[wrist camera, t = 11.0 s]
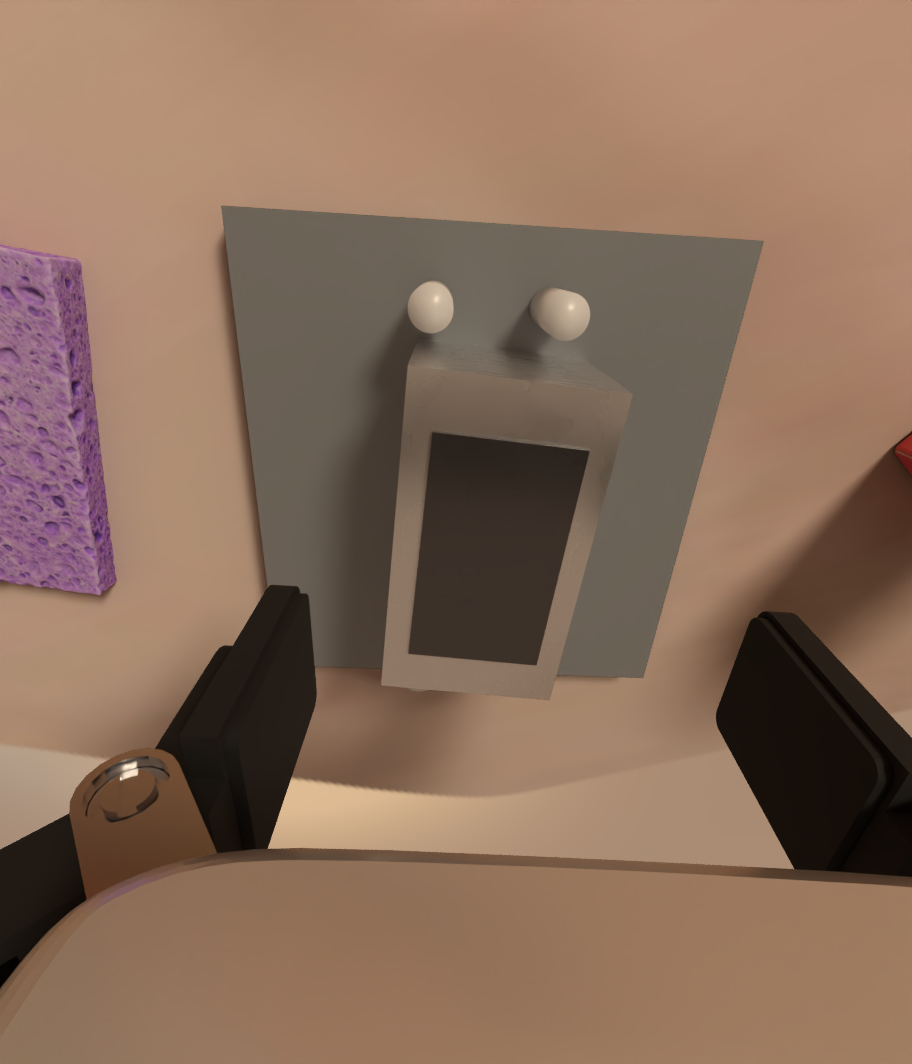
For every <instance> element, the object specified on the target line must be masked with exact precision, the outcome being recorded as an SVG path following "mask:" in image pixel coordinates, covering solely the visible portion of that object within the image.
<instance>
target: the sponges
mask: <svg viewBox="0 0 912 1064" xmlns="http://www.w3.org/2000/svg"><path fill="white" fill-rule="evenodd" d="M91 373H92V362H91V351H90V343H89V335H88V322H87V312H86V302H85V293H84V286H83V280H82V268H81V262H80V261H79V260H78V259H75V258H69V257H63V256H58V255H53V254H48V253H42V252H37V251H31V250H27V249H23V248H14V247H9V246H3V245H0V581H7V582H9V583H17V584H20V585H28V584H30V585H33V586H35V587H49V588H58V589H60V590H63V591H71V592H77V593H90V594H95V595H101V593H102V591H106V590H107V589H108V587H110V586H112V585H113V584H114V583H115V582H116V580H117V579H116V575H115V567H114V565H113V550H112V543H111V540H110V525H109V522H108V520H107V512H108V507H107V501H106V493H105V485H104V480H103V478H104V477H103V467H102V457H101V449H100V442H99V432H98V421H97V412H96V406H95V405H96V402H95V394H94V392H93V387H92V386H93V384H92V381H91Z"/></svg>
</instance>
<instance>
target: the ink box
mask: <svg viewBox="0 0 912 1064" xmlns="http://www.w3.org/2000/svg"><path fill="white" fill-rule="evenodd" d="M895 454H896V456H897V457H898V458H899V460H900V461H901V463H902V464H903V465H904V466H905V467H906V469H907V470H908V471H909V473H910V474H911V475H912V434H911V435H910V436H908V437H907V438H906V439H905V440H904V441H902V442H901V443H900V444H899V445H898V446H897V447H896V449H895Z"/></svg>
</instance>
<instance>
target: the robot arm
mask: <svg viewBox="0 0 912 1064" xmlns="http://www.w3.org/2000/svg"><path fill="white" fill-rule="evenodd" d="M316 694H317V691H316V677H315V665H314V653H313V641H312V628H311V616H310V604H309V596H308V594H306V593H300V589H299V587H298V586H286V585H270V586H269V587H268V588H267V590H266V591H265V593H264V595H263V596H262V598H261V600H260V601H259V603H258V605H257V606H256V608H255V610H254V611H253V613H252V615H251V616H250V618H249V620H248V621H247V623H246V625H245V626H244V628H243V630H242V631H241V633H240V635H239V636H238V638H237V640H236V641H235V643H234V645H233V646H222V647H220V648H219V649H218V651H217V652H216V653H215V655H214V656H213V658H212V659H211V661H210V662H209V664H208V666H207V667H206V669H205V670H204V672H203V674H202V675H201V677H200V678H199V680H198V681H197V683H196V685H195V686H194V688H193V689H192V691H191V693H190V694H189V696H188V697H187V699H186V700H185V702H184V704H183V705H182V707H181V708H180V710H179V712H178V713H177V715H176V716H175V718H174V719H173V721H172V723H171V724H170V726H169V727H168V729H167V730H166V732H165V734H164V735H163V737H162V738H161V740H160V742H159V743H158V745H157V746H156V748H155V749H151V748H146V749H138V750H132V751H129V752H126V753H123V754H120V755H117V756H115V757H113V758H111V759H109V760H108V761H106V762H104V763H102V764H101V765H99V766H98V767H97V768H95V769H94V770H93V771H92V772H90V773H89V774H88V775H87V776H86V777H85V778H84V779H83V781H82V782H81V783H80V784H79V785H78V787H77V788H76V790H75V792H74V794H73V796H72V798H71V801H70V812H69V814H67V815H65V816H64V817H62V818H60V819H58V820H56V821H54V822H53V823H50V824H48V825H46V826H45V827H43V828H41V829H39V830H37V831H35V832H33V833H31V834H29V835H27V836H26V837H23V838H21V839H20V840H18V841H16V842H14V843H12V844H10V845H8V846H6V847H4V848H2V849H0V1064H912V738H911V737H910V736H909V735H908V734H907V732H905V730H904V729H903V728H902V727H901V726H900V725H899V724H898V723H897V722H896V721H895V720H894V719H893V717H892V716H891V715H890V714H889V713H888V712H887V711H886V710H885V709H884V708H883V707H882V706H881V705H880V704H879V703H878V701H877V700H876V699H875V698H874V697H873V696H872V695H871V694H870V693H869V692H868V691H867V690H866V689H865V688H864V687H863V685H862V684H861V683H860V682H859V681H858V680H857V679H856V678H855V677H854V676H853V675H852V674H851V673H850V672H849V671H848V669H847V668H846V667H845V666H844V665H843V664H842V663H841V662H840V661H839V660H838V659H837V658H836V657H835V656H834V654H833V653H832V652H831V651H830V650H829V649H828V648H827V647H826V646H825V645H824V644H823V643H822V642H821V641H820V640H819V638H818V637H817V636H816V635H815V634H814V633H813V632H812V631H811V630H810V629H809V628H808V627H807V626H806V625H805V624H804V622H803V621H802V620H801V619H800V618H799V617H798V616H797V615H795V614H793V613H786V612H767V611H765V612H762V613H761V614H759V615H758V617H757V618H753V619H752V620H751V621H750V623H749V625H748V628H747V631H746V634H745V636H744V639H743V642H742V644H741V647H740V650H739V652H738V655H737V658H736V660H735V663H734V666H733V668H732V671H731V674H730V677H729V679H728V682H727V685H726V687H725V690H724V693H723V695H722V698H721V701H720V703H719V706H718V709H717V712H716V722H717V726H718V729H719V731H720V733H721V735H722V736H723V738H724V740H725V742H726V744H727V746H728V747H729V749H730V751H731V753H732V755H733V757H734V758H735V760H736V762H737V764H738V766H739V767H740V769H741V771H742V773H743V775H744V777H745V779H746V780H747V782H748V784H749V786H750V788H751V790H752V792H753V793H754V795H755V797H756V799H757V801H758V803H759V805H760V806H761V808H762V810H763V812H764V814H765V816H766V817H767V819H768V821H769V823H770V825H771V827H772V828H773V830H774V832H775V834H776V836H777V838H778V840H779V841H780V843H781V845H782V847H783V849H784V851H785V852H786V854H787V856H788V858H789V860H790V862H791V863H792V865H793V867H794V869H779V868H759V867H741V866H740V867H739V866H722V865H704V864H683V863H663V862H642V861H622V860H601V859H600V860H599V859H578V858H558V857H536V856H513V855H512V856H511V855H489V854H464V853H441V852H440V853H439V852H418V851H394V850H354V849H353V850H352V849H351V850H350V849H311V848H290V849H268V845H269V843H270V840H271V836H272V834H273V831H274V828H275V825H276V822H277V819H278V816H279V812H280V810H281V807H282V804H283V801H284V797H285V795H286V792H287V789H288V786H289V783H290V780H291V777H292V774H293V771H294V768H295V765H296V762H297V759H298V756H299V753H300V750H301V747H302V744H303V741H304V738H305V735H306V732H307V729H308V726H309V723H310V720H311V717H312V714H313V711H314V707H315V703H316Z"/></svg>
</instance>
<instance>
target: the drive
mask: <svg viewBox="0 0 912 1064" xmlns="http://www.w3.org/2000/svg"><path fill="white" fill-rule="evenodd" d="M632 396H633V394H632V393H631V392H630V391H628V390H627V389H625V388H624V387H623V386H621V385H620V384H619V383H617V382H616V381H614V380H613V379H612V378H610V377H609V376H607V375H606V374H605V373H603V372H602V371H601V370H599V369H598V368H596V367H595V366H594V365H592V364H591V363H590V362H588V361H587V360H582V359H574V358H567V357H559V356H552V355H544V354H536V353H529V352H521V351H514V350H506V349H498V348H491V347H483V346H476V345H468V344H460V343H453V342H445V341H437V340H430V339H422V338H418V340H417V343H416V345H415V348H414V350H413V353H412V356H411V358H410V361H409V363H408V368H407V380H406V392H405V404H404V416H403V428H402V440H401V452H400V464H399V476H398V488H397V500H396V512H395V524H394V536H393V548H392V560H391V572H390V584H389V596H388V608H387V620H386V632H385V644H384V656H383V668H382V680H381V686H392V687H404V688H415V689H427V690H438V691H450V692H461V693H473V694H484V695H496V696H507V697H519V698H530V699H542V700H550V697H551V693H552V689H553V686H554V682H555V678H556V675H557V671H558V667H559V664H560V660H561V656H562V653H563V649H564V645H565V642H566V638H567V634H568V631H569V627H570V623H571V620H572V616H573V612H574V609H575V605H576V601H577V598H578V594H579V590H580V587H581V583H582V579H583V576H584V572H585V568H586V565H587V561H588V557H589V554H590V550H591V546H592V543H593V539H594V535H595V532H596V528H597V524H598V521H599V517H600V513H601V510H602V506H603V502H604V499H605V495H606V491H607V488H608V484H609V480H610V477H611V473H612V469H613V466H614V462H615V458H616V455H617V451H618V447H619V444H620V440H621V436H622V432H623V429H624V425H625V421H626V418H627V414H628V410H629V407H630V403H631V399H632Z"/></svg>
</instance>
